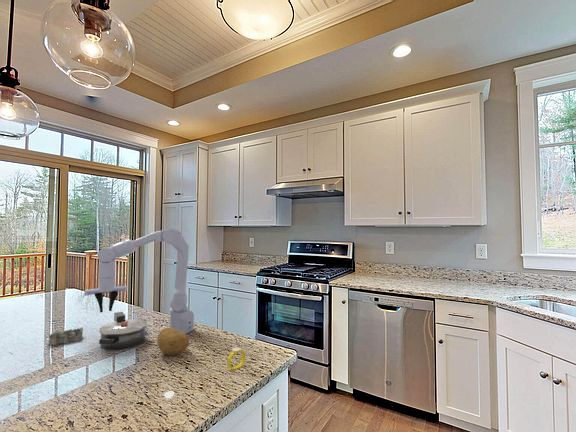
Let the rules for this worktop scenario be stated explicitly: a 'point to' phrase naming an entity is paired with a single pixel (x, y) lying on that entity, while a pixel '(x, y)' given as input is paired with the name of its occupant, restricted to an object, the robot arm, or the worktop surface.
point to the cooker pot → (122, 340)
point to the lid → (122, 326)
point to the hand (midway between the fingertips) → (105, 311)
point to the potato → (172, 341)
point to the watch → (234, 350)
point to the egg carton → (65, 336)
